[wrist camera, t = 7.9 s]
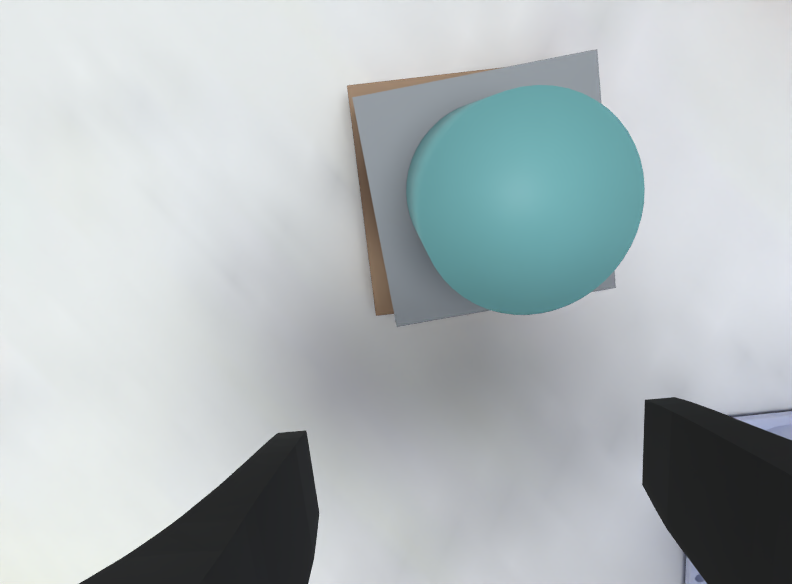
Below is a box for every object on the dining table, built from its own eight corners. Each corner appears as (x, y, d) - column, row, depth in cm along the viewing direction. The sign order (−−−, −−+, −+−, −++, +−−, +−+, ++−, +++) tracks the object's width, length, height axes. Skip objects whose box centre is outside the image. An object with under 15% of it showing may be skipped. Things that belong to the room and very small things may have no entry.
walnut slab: (568, 277, 21) (592, 292, 18) (377, 297, 21) (375, 315, 19) (563, 71, 19) (589, 57, 16) (352, 95, 19) (347, 85, 17)
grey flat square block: (585, 271, 18) (615, 287, 16) (396, 305, 18) (396, 327, 16) (567, 66, 16) (597, 49, 14) (357, 106, 17) (352, 97, 14)
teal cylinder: (578, 256, 16) (646, 294, 12) (420, 284, 16) (436, 331, 12) (568, 85, 14) (642, 65, 10) (393, 116, 14) (401, 107, 10)
